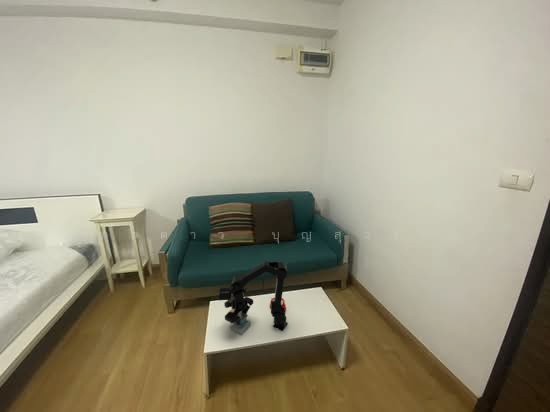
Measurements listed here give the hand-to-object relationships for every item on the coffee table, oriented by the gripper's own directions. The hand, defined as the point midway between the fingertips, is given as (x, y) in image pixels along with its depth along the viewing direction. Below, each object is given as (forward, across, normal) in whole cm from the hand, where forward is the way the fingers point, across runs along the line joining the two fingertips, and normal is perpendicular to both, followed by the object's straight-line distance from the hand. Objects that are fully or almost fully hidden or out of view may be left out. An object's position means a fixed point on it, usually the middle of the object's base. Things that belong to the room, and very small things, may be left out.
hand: (240, 321), depth 131 cm
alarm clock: (+5, -24, +10) cm, 27 cm away
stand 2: (+4, 0, 0) cm, 5 cm away
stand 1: (+4, -7, -9) cm, 12 cm away
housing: (+1, 0, 0) cm, 1 cm away
